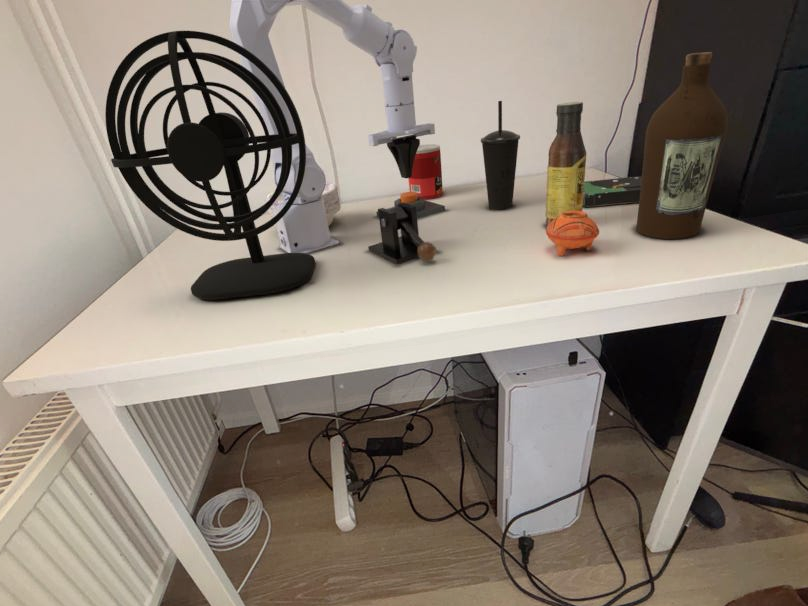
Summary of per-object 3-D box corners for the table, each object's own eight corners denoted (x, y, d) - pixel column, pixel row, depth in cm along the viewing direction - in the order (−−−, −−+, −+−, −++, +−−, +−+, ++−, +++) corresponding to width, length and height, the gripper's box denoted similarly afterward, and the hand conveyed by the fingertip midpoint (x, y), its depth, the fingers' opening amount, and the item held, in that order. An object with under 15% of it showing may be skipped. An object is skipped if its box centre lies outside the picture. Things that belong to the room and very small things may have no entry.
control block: (397, 225, 100) (396, 210, 98) (376, 217, 107) (374, 203, 105) (445, 211, 105) (444, 197, 103) (422, 204, 111) (420, 191, 110)
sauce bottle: (582, 229, 85) (593, 103, 75) (545, 231, 87) (551, 107, 76) (578, 218, 91) (588, 99, 80) (544, 220, 92) (549, 103, 81)
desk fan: (154, 315, 74) (39, 44, 56) (192, 272, 89) (111, 47, 71) (328, 295, 73) (270, 13, 55) (337, 254, 88) (294, 22, 70)
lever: (437, 261, 80) (440, 247, 77) (422, 266, 79) (425, 252, 76) (400, 218, 85) (402, 204, 83) (385, 222, 84) (387, 208, 82)
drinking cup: (475, 207, 104) (472, 103, 94) (504, 200, 107) (505, 97, 96) (495, 214, 98) (494, 104, 88) (526, 206, 101) (529, 98, 90)
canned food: (443, 198, 114) (440, 148, 108) (410, 201, 115) (405, 152, 109) (442, 190, 120) (439, 142, 115) (410, 193, 121) (405, 146, 115)
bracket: (436, 252, 84) (433, 207, 80) (397, 265, 81) (391, 219, 76) (405, 240, 91) (401, 197, 87) (368, 251, 88) (362, 208, 84)
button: (406, 205, 102) (405, 197, 101) (398, 202, 105) (397, 194, 104) (420, 201, 104) (420, 193, 103) (411, 198, 106) (411, 190, 105)
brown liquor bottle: (625, 222, 86) (647, 57, 73) (691, 218, 84) (726, 48, 71) (641, 243, 77) (669, 59, 64) (714, 239, 75) (760, 48, 62)
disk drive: (642, 189, 103) (570, 195, 104) (644, 175, 101) (571, 181, 103) (662, 201, 94) (583, 208, 95) (664, 186, 92) (584, 193, 94)
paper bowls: (260, 239, 102) (249, 201, 98) (295, 217, 114) (287, 182, 110) (324, 239, 97) (316, 199, 93) (354, 216, 109) (348, 180, 105)
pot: (531, 248, 80) (541, 205, 77) (571, 249, 82) (582, 208, 79) (560, 261, 73) (571, 215, 70) (602, 262, 75) (615, 218, 72)
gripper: (377, 110, 89) (386, 187, 96) (441, 99, 94) (445, 172, 101) (359, 109, 94) (369, 182, 101) (421, 99, 100) (426, 168, 107)
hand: (406, 177), depth 102 cm, fingers closed
